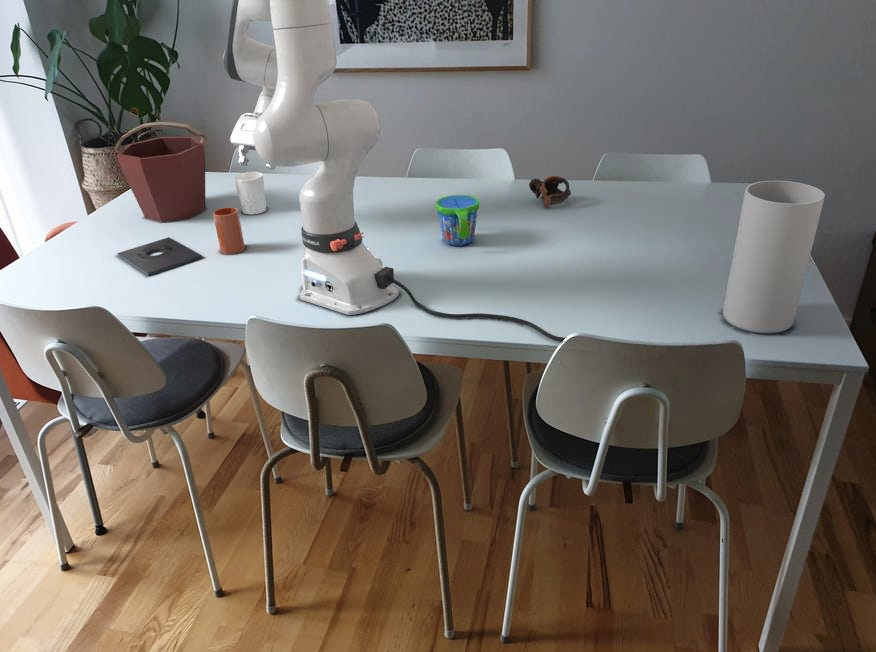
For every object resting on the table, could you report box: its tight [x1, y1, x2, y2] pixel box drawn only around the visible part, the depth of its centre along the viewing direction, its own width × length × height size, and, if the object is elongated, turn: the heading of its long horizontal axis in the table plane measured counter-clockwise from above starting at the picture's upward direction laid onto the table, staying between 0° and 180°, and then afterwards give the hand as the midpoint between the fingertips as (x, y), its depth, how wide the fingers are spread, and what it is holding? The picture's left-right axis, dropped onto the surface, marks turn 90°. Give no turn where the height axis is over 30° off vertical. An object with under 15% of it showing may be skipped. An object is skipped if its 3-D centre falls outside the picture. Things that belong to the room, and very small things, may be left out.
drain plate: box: [116, 236, 203, 277], centre depth 182 cm, size 18×14×1 cm
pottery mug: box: [528, 175, 572, 209], centre depth 200 cm, size 12×10×8 cm
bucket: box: [114, 121, 208, 223], centre depth 204 cm, size 24×22×25 cm
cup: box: [212, 206, 246, 255], centre depth 182 cm, size 6×6×10 cm
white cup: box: [233, 171, 267, 215], centre depth 206 cm, size 8×8×10 cm
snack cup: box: [435, 194, 481, 247], centre depth 179 cm, size 16×10×10 cm
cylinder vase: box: [722, 180, 826, 334], centre depth 134 cm, size 12×12×25 cm
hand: (256, 166), depth 184 cm, fingers open, 8 cm apart
